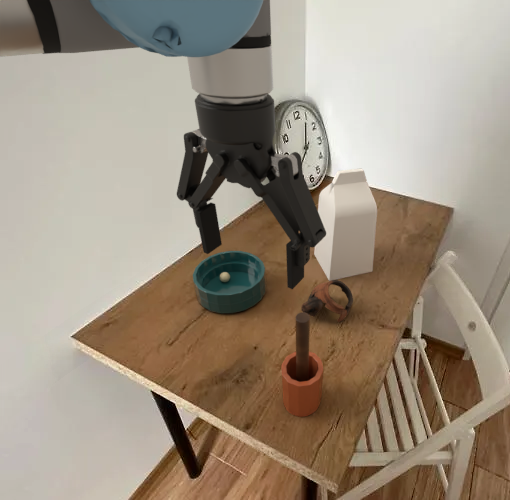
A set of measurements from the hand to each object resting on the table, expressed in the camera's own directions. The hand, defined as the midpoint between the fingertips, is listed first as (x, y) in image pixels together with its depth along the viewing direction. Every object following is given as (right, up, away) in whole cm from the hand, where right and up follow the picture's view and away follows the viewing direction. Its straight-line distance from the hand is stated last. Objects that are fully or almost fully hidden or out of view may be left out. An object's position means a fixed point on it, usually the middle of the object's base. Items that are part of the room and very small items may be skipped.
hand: (252, 264), depth 47 cm
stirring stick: (+5, -24, +15) cm, 28 cm away
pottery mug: (+8, -12, +32) cm, 36 cm away
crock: (+5, -24, +15) cm, 29 cm away
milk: (+13, -2, +47) cm, 49 cm away
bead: (-15, -5, +38) cm, 41 cm away
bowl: (-13, -8, +36) cm, 39 cm away
